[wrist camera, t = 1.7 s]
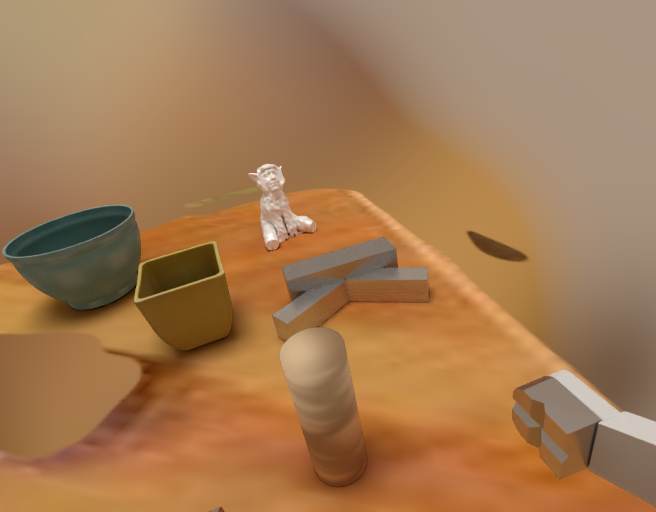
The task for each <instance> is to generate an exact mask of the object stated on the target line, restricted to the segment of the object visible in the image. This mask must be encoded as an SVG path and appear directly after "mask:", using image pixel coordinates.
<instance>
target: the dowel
mask: <svg viewBox="0 0 656 512" xmlns="http://www.w3.org/2000/svg"><path fill="white" fill-rule="evenodd" d="M280 360H281V363H282V367H283V370H284V373H285V376H286V379H287V383H288V386H289V389H290V392H291V395H292V399H293V402H294V405H295V408H296V411H297V415H298V418H299V421H300V424H301V427H302V431H303V434H304V437H305V440H306V443H307V447H308V450H309V453H310V456H311V459H312V463H313V466H314V469H315V472H316V474H317V476H318V477H319V479H320V480H321V481H323V482H324V483H326V484H327V485H330V486H334V487H342V486H347V485H349V484H352V483H353V482H355V481H356V480H357V479H359V478H360V476H361V475H362V474H363V472H364V470H365V468H366V465H367V453H366V448H365V443H364V438H363V433H362V428H361V423H360V418H359V413H358V408H357V403H356V398H355V393H354V388H353V383H352V378H351V373H350V368H349V363H348V358H347V353H346V348H345V343H344V340H343V338H342V336H341V335H340V334H339V333H338V332H336V331H334V330H332V329H329V328H323V327H315V328H309V329H305V330H302V331H300V332H298V333H296V334H294V335H293V336H291V337H290V338H289V339H288V340H287V341H286V342H285V343H284V345H283V346H282V348H281V351H280Z"/></svg>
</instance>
